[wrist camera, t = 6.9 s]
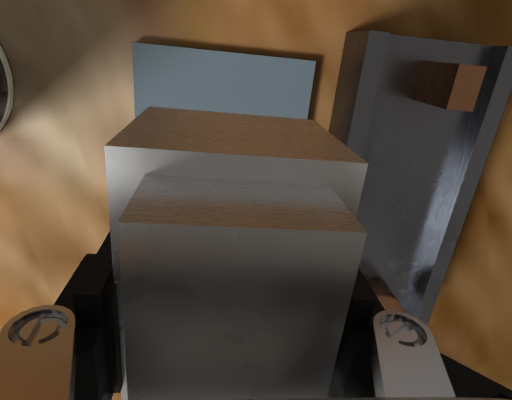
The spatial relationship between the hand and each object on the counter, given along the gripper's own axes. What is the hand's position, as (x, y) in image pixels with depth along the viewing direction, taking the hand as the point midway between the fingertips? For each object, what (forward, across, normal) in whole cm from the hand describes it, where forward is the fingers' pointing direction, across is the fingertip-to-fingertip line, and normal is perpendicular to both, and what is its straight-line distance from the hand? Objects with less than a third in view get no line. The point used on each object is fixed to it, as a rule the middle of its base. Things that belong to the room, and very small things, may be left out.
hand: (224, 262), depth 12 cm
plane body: (+17, -13, +3) cm, 21 cm away
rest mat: (+17, 0, 0) cm, 17 cm away
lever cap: (+1, 0, 0) cm, 1 cm away
